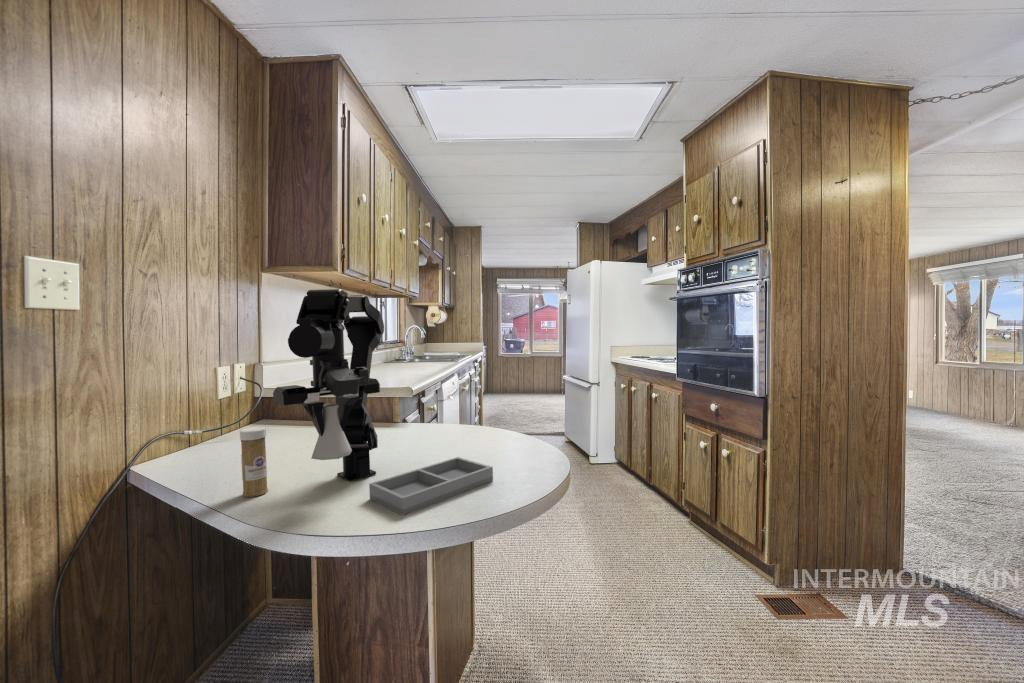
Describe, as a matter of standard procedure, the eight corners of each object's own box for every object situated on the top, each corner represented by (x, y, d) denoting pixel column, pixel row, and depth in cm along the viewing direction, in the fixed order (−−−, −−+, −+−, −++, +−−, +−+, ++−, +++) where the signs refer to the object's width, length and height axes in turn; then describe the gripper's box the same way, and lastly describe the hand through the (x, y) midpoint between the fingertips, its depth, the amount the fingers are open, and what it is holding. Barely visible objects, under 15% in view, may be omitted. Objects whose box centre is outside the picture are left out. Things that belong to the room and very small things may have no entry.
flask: (358, 450, 88) (356, 401, 88) (340, 461, 81) (338, 408, 81) (324, 450, 89) (323, 401, 89) (303, 461, 82) (301, 408, 82)
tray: (369, 498, 85) (369, 483, 85) (458, 469, 102) (457, 456, 102) (403, 515, 78) (402, 498, 77) (492, 480, 94) (492, 466, 94)
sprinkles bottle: (254, 498, 87) (251, 431, 86) (237, 496, 88) (234, 430, 88) (273, 490, 91) (270, 426, 91) (256, 488, 93) (253, 425, 92)
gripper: (294, 359, 72) (298, 452, 73) (393, 352, 86) (396, 431, 86) (270, 357, 80) (274, 441, 80) (365, 351, 93) (367, 423, 94)
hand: (331, 434), depth 85 cm, fingers closed on flask, 3 cm apart
